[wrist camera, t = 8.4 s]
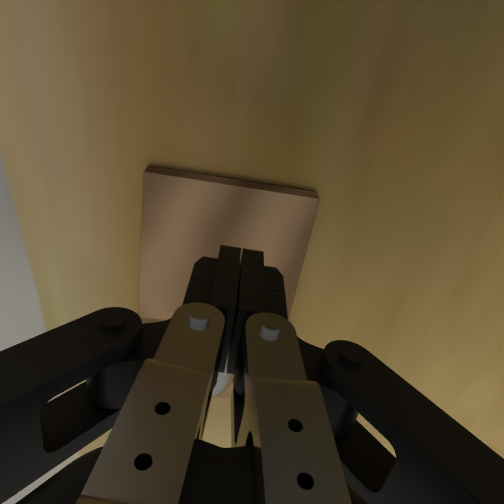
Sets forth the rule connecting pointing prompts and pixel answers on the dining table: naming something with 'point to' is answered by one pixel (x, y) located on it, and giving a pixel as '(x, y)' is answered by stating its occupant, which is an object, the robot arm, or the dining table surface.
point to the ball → (222, 381)
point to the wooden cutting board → (215, 232)
